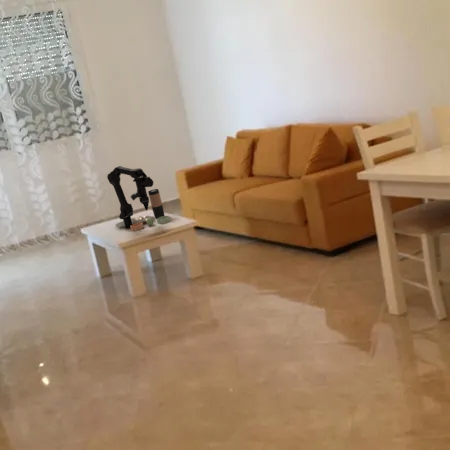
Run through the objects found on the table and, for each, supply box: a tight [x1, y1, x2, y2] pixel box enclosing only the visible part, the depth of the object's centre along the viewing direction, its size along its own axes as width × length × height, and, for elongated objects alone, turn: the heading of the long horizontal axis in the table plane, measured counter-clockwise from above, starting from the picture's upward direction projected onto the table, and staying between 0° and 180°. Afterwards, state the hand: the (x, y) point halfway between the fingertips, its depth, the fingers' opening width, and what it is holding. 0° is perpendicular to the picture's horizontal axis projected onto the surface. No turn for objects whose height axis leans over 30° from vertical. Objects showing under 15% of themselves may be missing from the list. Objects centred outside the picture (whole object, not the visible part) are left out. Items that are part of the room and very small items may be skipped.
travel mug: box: [147, 188, 166, 220], centre depth 499 cm, size 8×8×20 cm
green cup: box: [156, 215, 171, 225], centre depth 484 cm, size 8×8×3 cm
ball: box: [145, 217, 155, 226], centre depth 482 cm, size 5×5×5 cm
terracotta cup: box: [129, 222, 145, 232], centre depth 481 cm, size 8×8×3 cm
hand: (146, 209), depth 480 cm, fingers open, 9 cm apart
